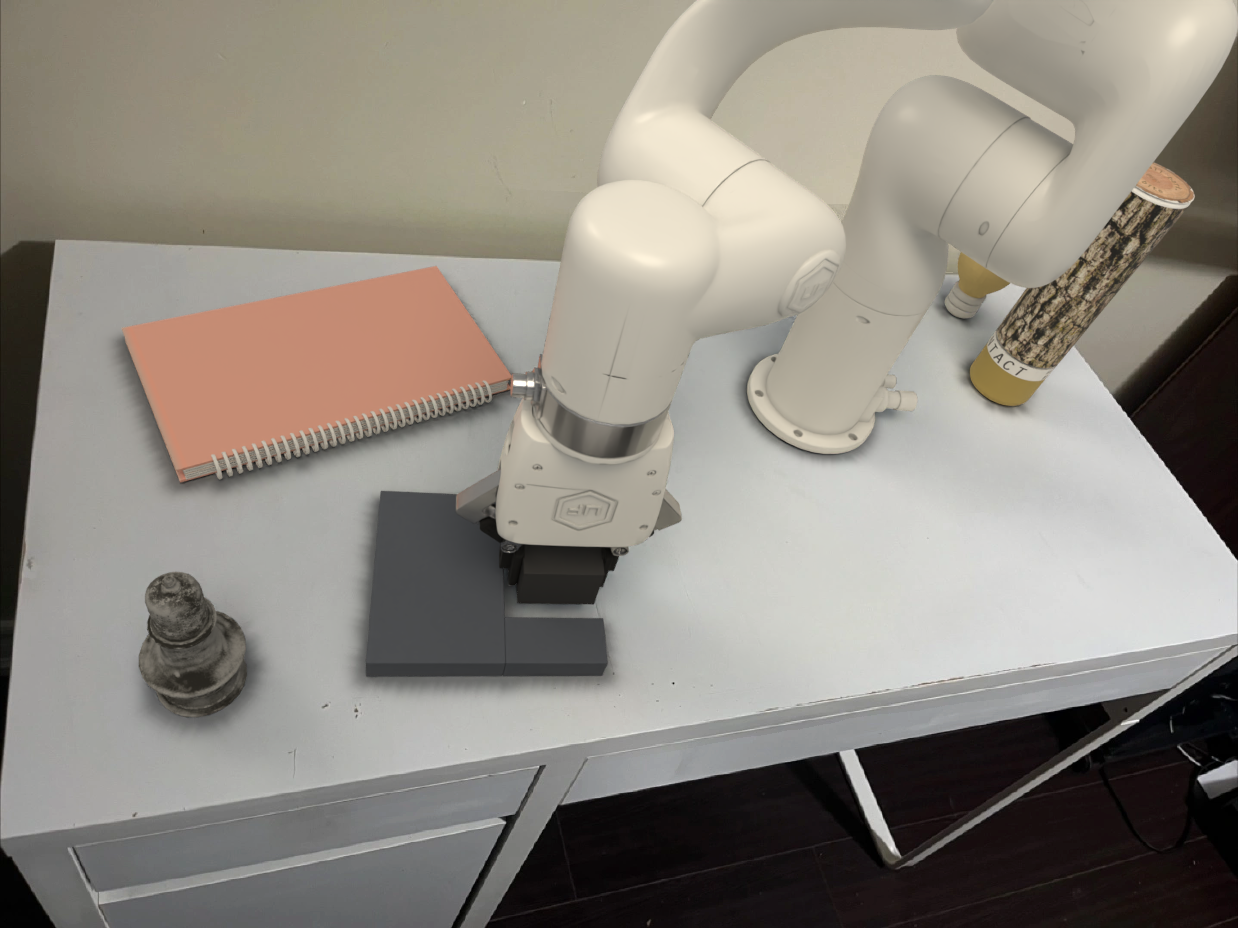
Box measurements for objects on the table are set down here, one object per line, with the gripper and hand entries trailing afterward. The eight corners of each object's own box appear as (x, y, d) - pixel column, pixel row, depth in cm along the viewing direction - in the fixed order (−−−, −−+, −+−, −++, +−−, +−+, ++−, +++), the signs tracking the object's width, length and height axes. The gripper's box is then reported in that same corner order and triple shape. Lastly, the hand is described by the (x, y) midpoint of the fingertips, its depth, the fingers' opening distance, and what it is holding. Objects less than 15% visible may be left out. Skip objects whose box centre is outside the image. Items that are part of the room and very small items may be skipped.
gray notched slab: (586, 514, 69) (591, 499, 68) (602, 676, 60) (608, 663, 59) (380, 506, 66) (380, 490, 64) (366, 677, 57) (365, 663, 55)
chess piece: (209, 619, 57) (178, 513, 48) (272, 673, 56) (252, 574, 47) (128, 682, 53) (78, 580, 44) (194, 741, 52) (155, 648, 43)
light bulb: (970, 294, 102) (1017, 223, 94) (992, 331, 98) (1043, 260, 90) (923, 290, 100) (967, 218, 93) (943, 327, 96) (990, 255, 89)
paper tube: (1003, 361, 95) (1158, 157, 76) (1039, 406, 91) (1211, 203, 72) (954, 365, 92) (1101, 156, 73) (989, 412, 88) (1153, 203, 70)
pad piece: (587, 540, 65) (597, 509, 62) (594, 604, 61) (604, 575, 58) (514, 538, 63) (521, 506, 60) (516, 603, 60) (523, 573, 57)
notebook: (185, 495, 63) (180, 478, 61) (125, 343, 70) (120, 325, 69) (516, 399, 76) (518, 383, 74) (435, 279, 83) (436, 263, 82)
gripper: (446, 439, 44) (431, 614, 58) (758, 456, 48) (675, 616, 62) (449, 339, 49) (434, 522, 63) (733, 362, 53) (661, 530, 66)
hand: (554, 567), depth 62 cm, fingers closed on pad piece, 5 cm apart
